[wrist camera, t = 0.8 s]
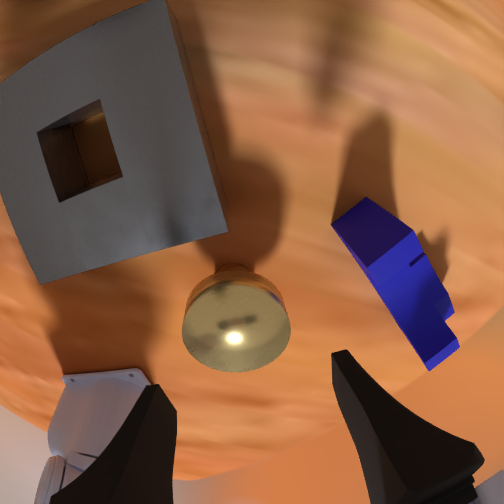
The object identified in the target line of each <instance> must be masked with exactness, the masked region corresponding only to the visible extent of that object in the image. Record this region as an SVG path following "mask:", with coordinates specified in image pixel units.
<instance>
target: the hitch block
mask: <svg viewBox="0 0 504 504" xmlns="http://www.w3.org/2000/svg"><path fill="white" fill-rule="evenodd" d="M103 111H104V115H105V119H106V122H107V126H108V129H109V133H110V136H111V139H112V143H113V146H114V149H115V153H116V156H117V159H118V162H119V165H120V168H121V171H122V172H120V173H118V174H115V175H113V176H110V177H107V178H105V179H102V180H100V181H97V182H95V183H92V184H89V182H88V179H87V176H86V173H85V170H84V167H83V164H82V161H81V157H80V154H79V151H78V148H77V144H76V141H75V138H74V134H73V131H72V126H74V125H76V124H78V123H80V122H82V121H84V120H86V119H88V118H90V117H92V116H94V115H96V114H98V113H101V112H103ZM0 193H1V196H2V199H3V202H4V204H5V207H6V210H7V213H8V215H9V218H10V220H11V223H12V225H13V228H14V230H15V233H16V235H17V237H18V240H19V242H20V244H21V246H22V248H23V251H24V253H25V255H26V257H27V259H28V261H29V263H30V265H31V267H32V269H33V271H34V273H35V275H36V277H37V279H38V281H39V283H40V285H41V284H45V283H48V282H51V281H54V280H58V279H61V278H64V277H68V276H71V275H74V274H78V273H81V272H85V271H88V270H91V269H95V268H98V267H102V266H105V265H109V264H112V263H116V262H119V261H123V260H126V259H130V258H133V257H137V256H140V255H144V254H147V253H151V252H155V251H158V250H162V249H166V248H169V247H173V246H177V245H180V244H184V243H188V242H191V241H195V240H199V239H203V238H206V237H210V236H214V235H218V234H222V233H226V232H228V205H227V201H226V198H225V194H224V191H223V187H222V184H221V180H220V176H219V173H218V169H217V166H216V162H215V159H214V155H213V151H212V148H211V144H210V141H209V137H208V133H207V130H206V126H205V122H204V119H203V115H202V111H201V108H200V104H199V100H198V97H197V93H196V89H195V86H194V82H193V78H192V75H191V71H190V67H189V63H188V60H187V56H186V52H185V48H184V45H183V41H182V37H181V33H180V30H179V26H178V22H177V19H176V17H175V16H174V14H173V12H172V10H171V8H170V7H169V5H168V3H167V1H166V0H151V1H148V2H145V3H142V4H140V5H137V6H135V7H132V8H129V9H127V10H125V11H122V12H120V13H117V14H115V15H113V16H111V17H108V18H106V19H104V20H102V21H100V22H98V23H96V24H94V25H92V26H90V27H88V28H86V29H84V30H82V31H80V32H78V33H76V34H74V35H73V36H71V37H69V38H67V39H65V40H64V41H62V42H60V43H59V44H57V45H55V46H54V47H52V48H50V49H49V50H47V51H45V52H44V53H42V54H41V55H39V56H38V57H36V58H35V59H33V60H32V61H30V62H29V63H27V64H26V65H25V66H23V67H22V68H20V69H19V70H18V71H16V72H15V73H14V74H12V75H11V76H10V77H8V78H7V79H6V80H4V81H3V82H2V83H1V84H0Z"/></svg>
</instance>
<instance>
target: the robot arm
mask: <svg viewBox="0 0 504 504" xmlns="http://www.w3.org/2000/svg"><path fill="white" fill-rule="evenodd" d="M331 358H332V384H333V387H334V391H335V394H336V398H337V401H338V405H339V407H340V410H341V412H342V414H343V417H344V419H345V422H346V424H347V427H348V429H349V431H350V434H351V436H352V439H353V441H354V443H355V446H356V449H357V452H358V454H359V458H360V462H361V465H362V469H363V473H364V477H365V481H366V485H367V489H368V493H369V498H370V502H371V504H504V470H501V471H499V472H498V473H496V474H495V475H493V476H492V477H490V478H489V479H487V480H486V481H484V482H483V483H481V484H480V485H478V486H477V487H476V488H474V486H473V484H472V483H474V481H475V480H474V478H473V476H472V474H474V473H475V472H476V471H477V470H478V469H479V468H480V467H481V466H482V465H483V463H484V460H485V459H484V458H483V456H482V454H481V452H480V451H479V449H478V448H477V446H476V445H475V444H474V443H472V442H470V441H466V440H464V439H461V438H459V437H457V436H454V435H452V434H450V433H448V432H446V431H443V430H441V429H440V428H438V427H436V426H434V425H432V424H431V423H429V422H427V421H425V420H424V419H422V418H420V417H419V416H417V415H416V414H414V413H413V412H411V411H410V410H409V409H407V408H406V407H405V406H403V405H402V404H401V403H399V402H398V401H397V400H396V399H394V398H393V397H392V396H391V395H390V394H389V393H387V392H386V391H385V390H384V389H383V388H382V387H381V386H380V385H379V384H378V383H377V382H376V381H375V380H374V379H373V378H372V377H371V376H370V375H369V374H368V373H367V372H366V371H365V370H364V369H363V368H362V367H361V366H360V364H359V363H358V362H357V361H356V360H355V359H354V357H353V356H352V355H351V354H350V352H349V351H348V350H346V349H345V350H342V351H338V352H334V353H331ZM62 380H63V382H64V383H65V384H66V386H65V388H64V391H63V393H62V395H61V398H60V400H59V403H58V405H57V408H56V410H55V412H54V415H53V417H52V420H51V423H50V425H49V429H48V444H49V448H50V451H51V453H52V455H53V457H50V458H49V459H48V460H47V463H46V465H45V467H44V470H43V472H42V475H41V478H40V482H39V485H38V488H37V493H36V497H35V502H34V504H173V489H172V476H173V464H174V455H175V446H176V437H177V411H176V409H175V408H174V406H173V405H172V403H171V402H170V400H169V399H168V397H167V396H166V394H165V393H164V391H163V390H162V388H161V387H160V385H159V384H155V385H151V384H150V382H149V381H148V379H147V378H146V377H145V375H144V374H143V372H142V371H141V370H140V369H137V368H132V369H124V370H116V371H106V372H96V373H85V374H72V375H63V377H62Z"/></svg>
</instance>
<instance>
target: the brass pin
mask: <svg viewBox="0 0 504 504" xmlns="http://www.w3.org/2000/svg"><path fill="white" fill-rule="evenodd" d="M290 332H291V328H290V322H289V319H288V315H287V312H286V308H285V305H284V301H283V298H282V296H281V294H280V292H279V290H278V289H277V287H276V286H275V285H274V284H273V283H272V282H270V281H269V280H268V279H266V278H265V277H263V276H261V275H258V274H256V273H253V272H250V270H249V269H247V268H246V267H245V266H243V265H240V264H228V265H225V266H223V267H222V268H220V269H219V270H218V271H217V273H216V274H213V275H211V276H209V277H207V278H205V279H204V280H202V281H201V282H200V283H198V284H197V285H196V287H195V288H194V289H193V290H192V292H191V293H190V295H189V297H188V300H187V304H186V309H185V315H184V320H183V326H182V337H183V342H184V344H185V346H186V348H187V350H188V351H189V353H190V354H191V355H192V356H193V357H194V358H195V359H196V360H198V361H199V362H200V363H202V364H204V365H206V366H208V367H210V368H213V369H216V370H220V371H225V372H246V371H251V370H255V369H258V368H261V367H263V366H265V365H267V364H269V363H270V362H272V361H273V360H275V359H276V358H277V357H278V356H279V355H280V354H281V353H282V352H283V351H284V349H285V348H286V346H287V344H288V341H289V338H290Z"/></svg>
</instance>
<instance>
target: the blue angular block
mask: <svg viewBox="0 0 504 504" xmlns="http://www.w3.org/2000/svg"><path fill="white" fill-rule="evenodd" d="M331 226H332V227H333V229H334V230H335V231H336V233H337V234H338V236H339V237H340V238H341V240H342V241H343V243H344V244H345V245H346V247H347V248H348V250H349V251H350V253H351V254H352V255H353V257H354V258H355V260H356V261H357V263H358V264H359V266H360V267H361V268H362V270H363V271H364V273H365V274H366V276H367V277H368V279H369V280H370V282H371V283H372V285H373V286H374V288H375V289H376V291H377V293H378V294H379V296H380V297H381V299H382V300H383V302H384V303H385V305H386V306H387V308H388V310H389V311H390V313H391V314H392V316H393V318H394V319H395V321H396V322H397V324H398V326H399V327H400V329H401V330H402V332H403V333H404V334H405V336H406V337H407V339H408V340H409V342H410V343H411V345H412V346H413V348H414V349H415V351H416V352H417V354H418V355H419V357H420V359H421V360H422V362H423V363H424V365H425V366H426V368H427V369H428V371H430V370H432V369H433V368H434V367H436V366H437V365H438V364H440V363H441V362H442V361H443V360H445V359H446V358H447V357H448V356H450V355H451V354H452V353H453V352H455V351H456V350H457V349H458V348H459V347H460V346H459V343H458V340H457V337H456V336H455V335H454V333H453V332H452V331H451V329H450V328H449V327H448V325H447V324H446V323H445V320H446V319H448V318H449V317H450V316H451V315H452V314H453V313H455V312H454V309H453V306H452V303H451V300H450V297H449V294H448V292H447V291H446V289H445V288H444V286H443V285H442V283H441V282H440V280H439V278H438V277H437V275H436V273H435V271H434V270H433V268H432V266H431V264H430V262H429V260H428V258H427V256H426V254H425V253H424V252H423V249H422V247H421V245H420V243H419V241H418V239H417V236H416V234H415V232H414V230H412V229H411V228H410V227H408V226H407V225H406V224H404V223H403V222H402V221H400V220H399V219H397V218H396V217H395V216H393V215H392V214H390V213H389V212H388V211H386V210H385V209H383V208H382V207H380V206H379V205H377V204H376V203H375V202H373V201H372V200H370V199H369V198H367V197H365V198H364V199H363V200H362V201H360V202H359V203H358V204H356V205H355V206H354V207H353V208H351V209H350V210H349V211H348V212H346V213H345V214H344V215H343V216H341V217H340V218H339V219H337V220H336V221H335V222H334V223H332V224H331Z"/></svg>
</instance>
